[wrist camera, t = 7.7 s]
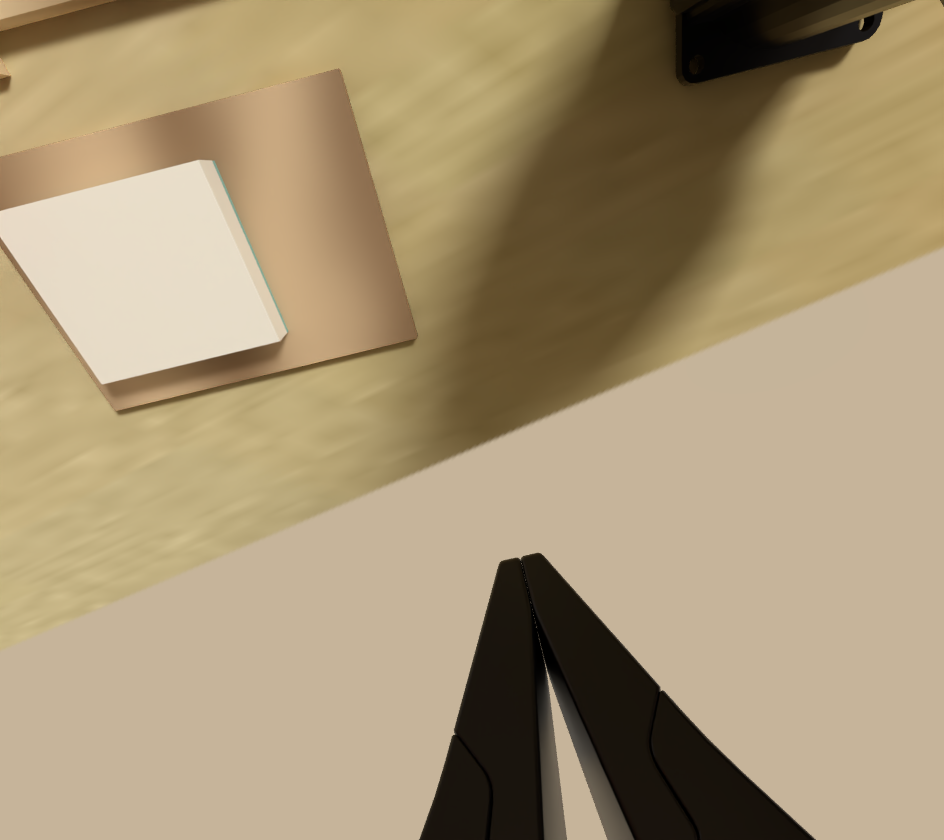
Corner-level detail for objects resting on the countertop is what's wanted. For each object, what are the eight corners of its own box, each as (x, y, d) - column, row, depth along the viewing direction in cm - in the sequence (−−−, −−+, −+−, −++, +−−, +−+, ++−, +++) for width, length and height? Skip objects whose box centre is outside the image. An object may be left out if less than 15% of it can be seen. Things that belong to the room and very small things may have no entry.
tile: (198, 160, 14) (-16, 214, 14) (280, 341, 17) (101, 384, 17) (214, 160, 15) (15, 211, 15) (288, 331, 18) (120, 372, 18)
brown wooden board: (340, 70, 15) (338, 68, 14) (417, 335, 19) (417, 338, 19) (-41, 170, 15) (-52, 170, 15) (120, 406, 19) (114, 411, 19)
